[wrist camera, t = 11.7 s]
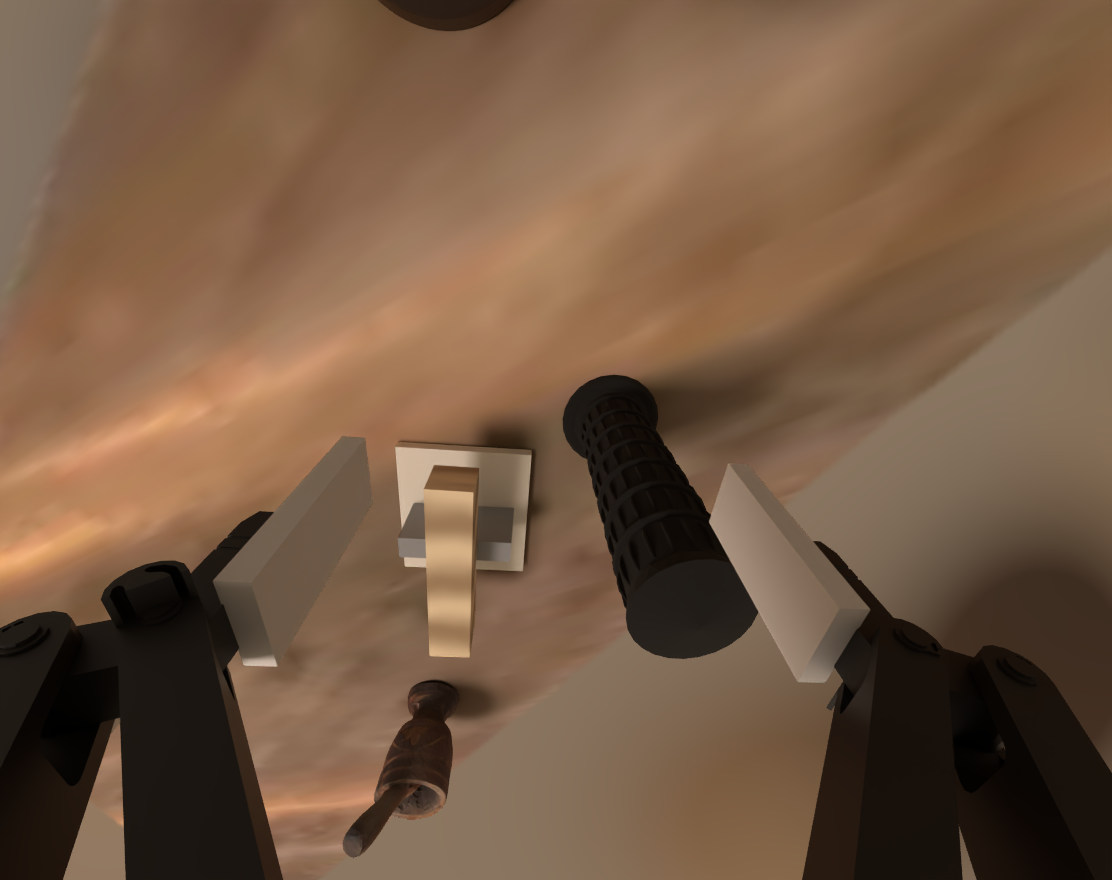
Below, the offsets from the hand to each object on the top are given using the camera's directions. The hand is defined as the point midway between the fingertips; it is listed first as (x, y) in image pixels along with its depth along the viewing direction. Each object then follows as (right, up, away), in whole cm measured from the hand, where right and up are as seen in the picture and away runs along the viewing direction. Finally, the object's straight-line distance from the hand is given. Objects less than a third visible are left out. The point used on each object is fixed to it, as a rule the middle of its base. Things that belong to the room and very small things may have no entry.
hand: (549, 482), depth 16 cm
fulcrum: (-10, -6, +33) cm, 35 cm away
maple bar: (-10, -10, +27) cm, 30 cm away
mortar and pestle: (-19, -35, +47) cm, 62 cm away
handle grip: (+6, +4, +29) cm, 30 cm away
